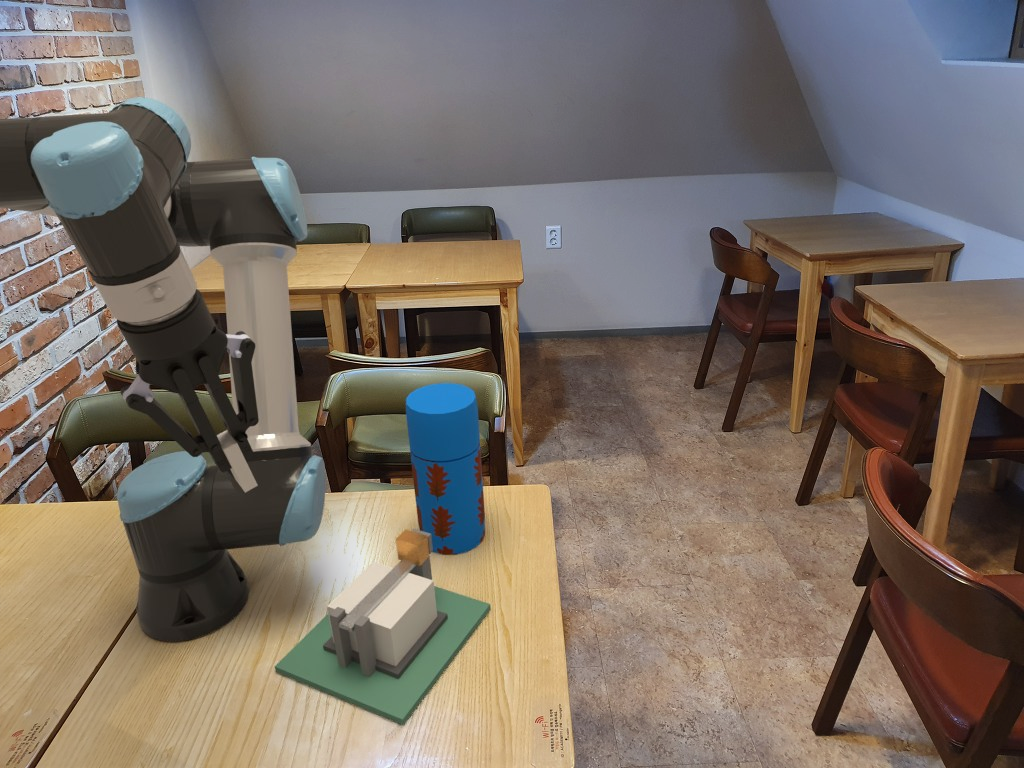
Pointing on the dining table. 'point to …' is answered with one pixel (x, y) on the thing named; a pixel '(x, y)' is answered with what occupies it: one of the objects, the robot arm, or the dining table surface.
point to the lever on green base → (386, 642)
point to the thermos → (447, 466)
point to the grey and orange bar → (391, 575)
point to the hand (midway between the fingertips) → (246, 482)
